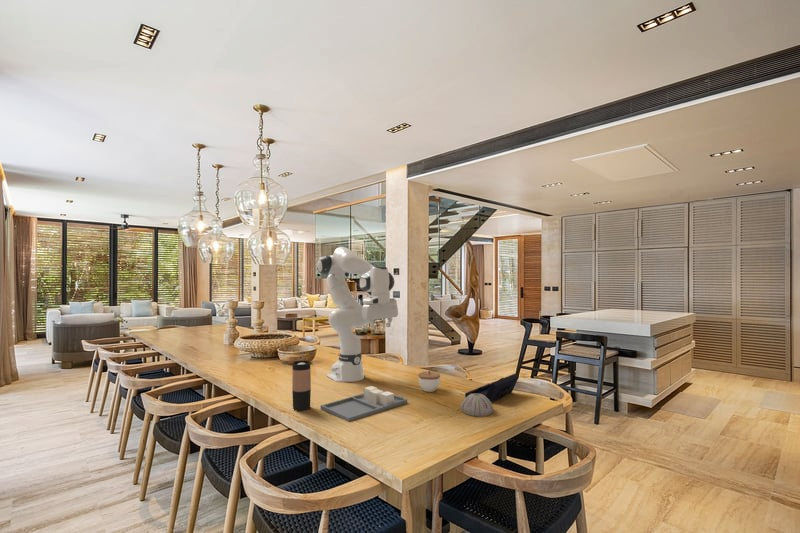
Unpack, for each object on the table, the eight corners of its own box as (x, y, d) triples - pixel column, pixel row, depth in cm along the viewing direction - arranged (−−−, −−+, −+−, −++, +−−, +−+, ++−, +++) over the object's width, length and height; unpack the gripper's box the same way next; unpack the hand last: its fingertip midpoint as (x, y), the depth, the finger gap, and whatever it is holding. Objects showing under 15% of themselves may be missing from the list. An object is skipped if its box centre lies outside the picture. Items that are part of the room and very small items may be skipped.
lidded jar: (439, 394, 190) (439, 374, 190) (416, 392, 193) (416, 373, 193) (441, 387, 201) (441, 368, 201) (420, 386, 203) (420, 367, 203)
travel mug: (289, 409, 171) (288, 362, 171) (304, 404, 176) (304, 359, 176) (298, 413, 165) (298, 365, 165) (314, 409, 171) (314, 362, 171)
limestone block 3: (379, 403, 174) (379, 393, 174) (387, 401, 177) (387, 391, 177) (386, 406, 171) (386, 395, 171) (394, 403, 174) (394, 393, 174)
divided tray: (320, 410, 169) (320, 405, 169) (378, 393, 191) (378, 389, 191) (348, 423, 155) (348, 418, 155) (407, 404, 177) (407, 399, 177)
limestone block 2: (369, 401, 177) (369, 391, 177) (377, 399, 181) (377, 389, 181) (375, 403, 174) (375, 393, 174) (383, 401, 177) (383, 391, 177)
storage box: (489, 388, 200) (489, 368, 200) (519, 395, 188) (519, 374, 188) (465, 398, 185) (465, 376, 185) (496, 406, 174) (496, 383, 174)
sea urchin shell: (492, 408, 171) (492, 390, 171) (494, 420, 157) (494, 400, 157) (461, 407, 173) (461, 388, 173) (460, 418, 160) (460, 398, 160)
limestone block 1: (363, 397, 182) (363, 387, 182) (371, 395, 185) (371, 385, 185) (370, 400, 179) (370, 390, 179) (377, 397, 182) (377, 388, 182)
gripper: (391, 297, 201) (392, 325, 201) (359, 300, 187) (360, 329, 187) (400, 298, 197) (401, 326, 196) (368, 300, 183) (368, 331, 182)
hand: (380, 328), depth 192 cm, fingers open, 8 cm apart
